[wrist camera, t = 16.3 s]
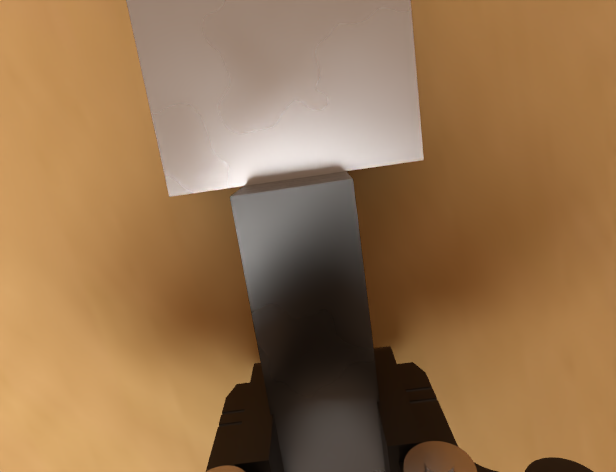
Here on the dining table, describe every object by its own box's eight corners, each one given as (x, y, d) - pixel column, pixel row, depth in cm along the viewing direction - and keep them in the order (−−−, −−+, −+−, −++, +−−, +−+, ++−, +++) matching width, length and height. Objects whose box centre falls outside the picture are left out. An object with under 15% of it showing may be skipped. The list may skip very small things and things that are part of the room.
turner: (108, -167, 10) (19, -299, 7) (379, -217, 9) (409, -378, 6) (270, 601, 14) (259, 719, 12) (449, 583, 14) (485, 698, 11)
